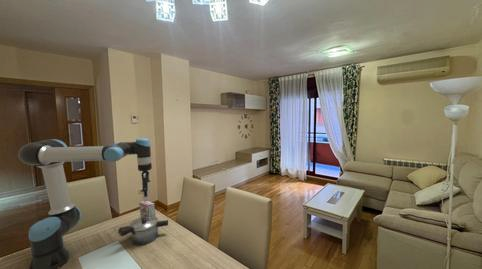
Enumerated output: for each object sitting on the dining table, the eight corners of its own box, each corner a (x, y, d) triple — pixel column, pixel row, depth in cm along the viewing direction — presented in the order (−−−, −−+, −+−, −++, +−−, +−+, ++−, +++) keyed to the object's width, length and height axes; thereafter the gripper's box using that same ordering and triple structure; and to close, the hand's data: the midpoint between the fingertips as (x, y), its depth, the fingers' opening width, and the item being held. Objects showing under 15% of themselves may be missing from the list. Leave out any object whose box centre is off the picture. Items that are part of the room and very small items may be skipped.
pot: (116, 250, 111) (114, 236, 110) (124, 234, 126) (122, 221, 125) (167, 240, 119) (166, 227, 118) (169, 227, 133) (168, 214, 132)
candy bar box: (140, 224, 138) (138, 202, 136) (147, 220, 142) (145, 199, 140) (149, 228, 132) (148, 206, 130) (156, 225, 136) (154, 203, 134)
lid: (127, 240, 106) (126, 234, 105) (114, 231, 114) (113, 225, 114) (162, 221, 123) (162, 216, 123) (149, 214, 132) (148, 210, 132)
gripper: (150, 168, 108) (152, 204, 111) (152, 158, 131) (153, 188, 133) (135, 169, 105) (138, 206, 108) (139, 159, 128) (141, 190, 130)
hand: (146, 196), depth 121 cm, fingers open, 13 cm apart
